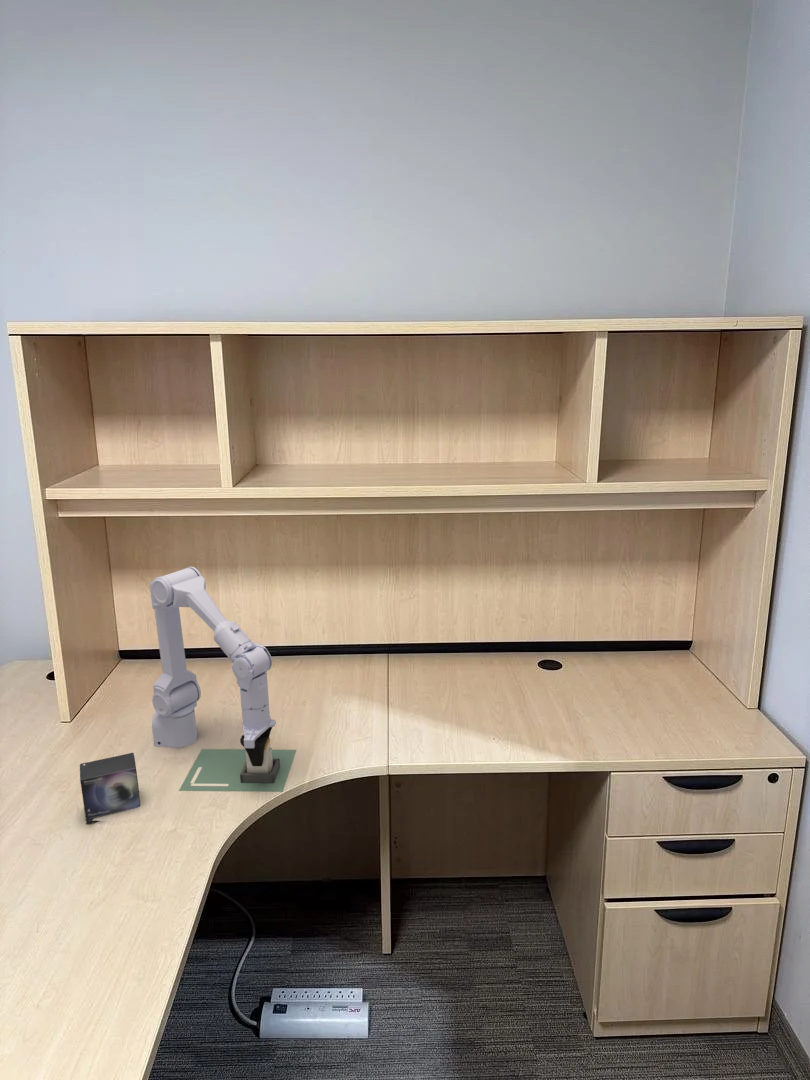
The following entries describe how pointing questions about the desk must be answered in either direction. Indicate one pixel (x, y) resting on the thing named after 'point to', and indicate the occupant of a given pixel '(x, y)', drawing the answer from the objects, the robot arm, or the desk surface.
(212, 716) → the desk surface
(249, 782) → the board
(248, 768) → the plug
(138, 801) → the small box
